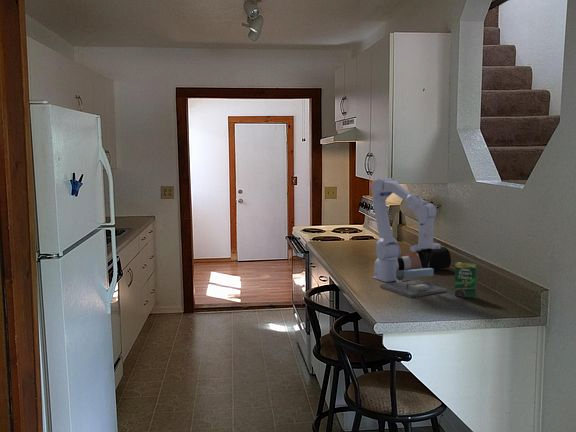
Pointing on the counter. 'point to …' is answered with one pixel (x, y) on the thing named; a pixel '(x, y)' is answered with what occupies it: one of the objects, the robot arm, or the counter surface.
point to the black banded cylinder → (437, 261)
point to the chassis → (413, 288)
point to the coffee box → (465, 280)
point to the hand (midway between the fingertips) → (424, 267)
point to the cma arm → (414, 273)
